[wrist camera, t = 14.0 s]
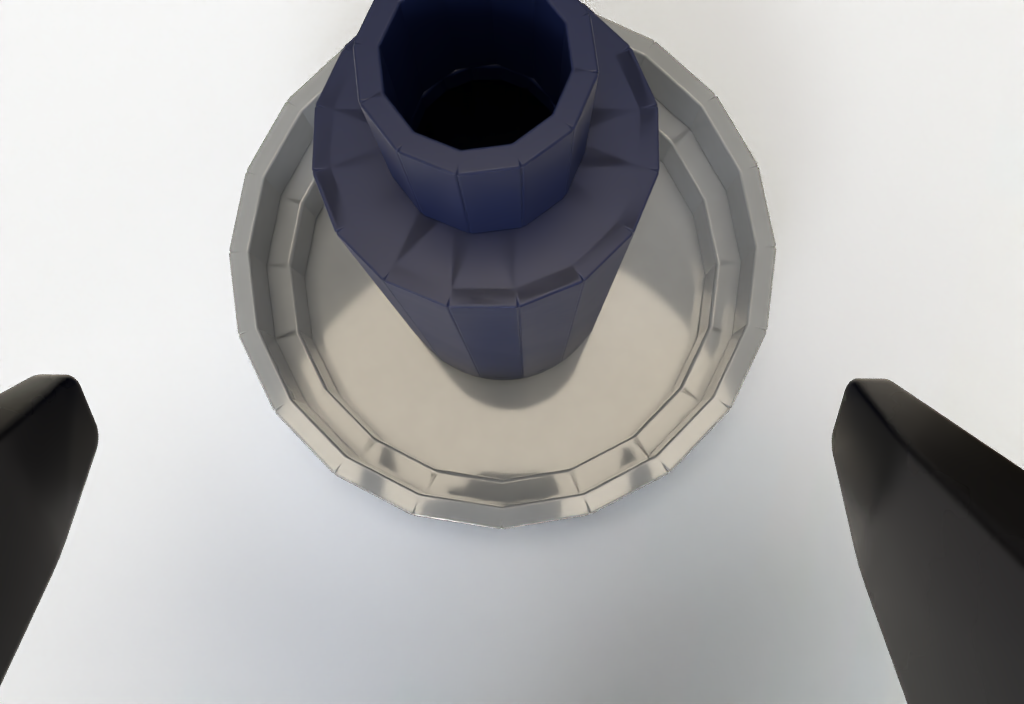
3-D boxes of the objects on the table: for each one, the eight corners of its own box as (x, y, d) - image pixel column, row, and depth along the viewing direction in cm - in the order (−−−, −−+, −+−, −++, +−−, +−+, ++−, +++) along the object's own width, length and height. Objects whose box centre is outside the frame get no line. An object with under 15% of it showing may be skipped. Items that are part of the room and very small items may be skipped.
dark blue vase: (557, 412, 22) (593, 333, 10) (370, 333, 22) (189, 168, 10) (634, 228, 22) (753, -50, 11) (451, 155, 23) (369, -192, 11)
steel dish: (783, 476, 22) (827, 475, 19) (302, 555, 22) (264, 568, 19) (689, 30, 24) (714, -39, 21) (248, 101, 24) (204, 43, 20)
